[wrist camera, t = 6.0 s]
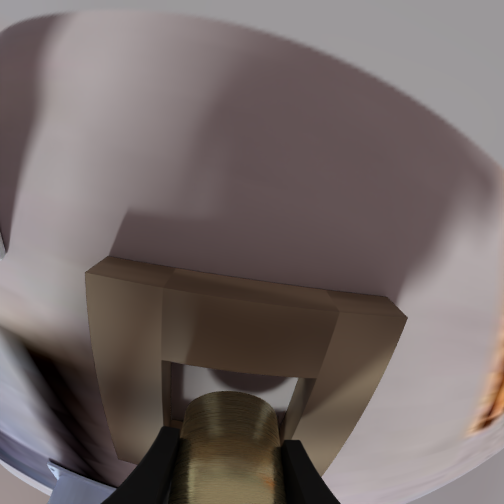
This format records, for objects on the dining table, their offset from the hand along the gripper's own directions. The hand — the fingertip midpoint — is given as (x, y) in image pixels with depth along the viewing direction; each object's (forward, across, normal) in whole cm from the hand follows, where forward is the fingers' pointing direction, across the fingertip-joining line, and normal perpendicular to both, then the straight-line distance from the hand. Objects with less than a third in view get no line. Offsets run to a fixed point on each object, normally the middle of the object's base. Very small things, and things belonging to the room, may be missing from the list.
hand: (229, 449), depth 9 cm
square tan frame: (+4, 0, 0) cm, 4 cm away
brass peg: (+2, 0, 0) cm, 2 cm away
